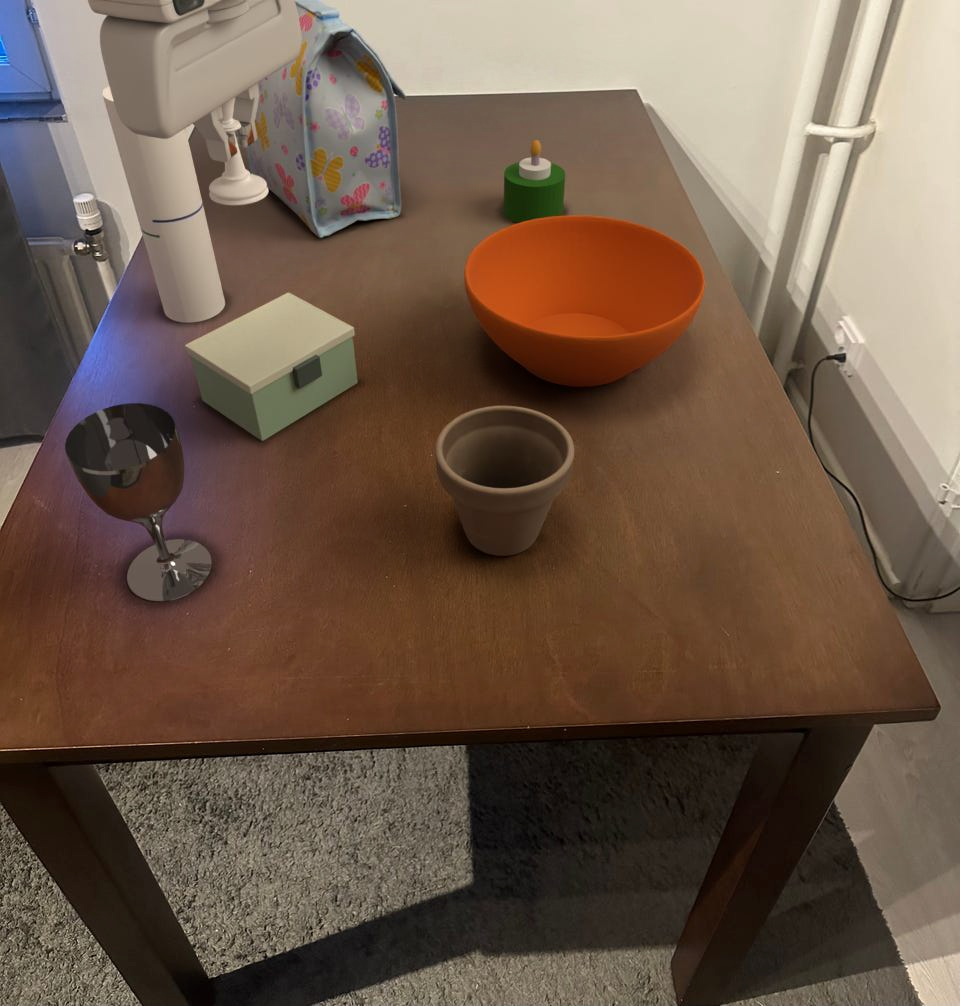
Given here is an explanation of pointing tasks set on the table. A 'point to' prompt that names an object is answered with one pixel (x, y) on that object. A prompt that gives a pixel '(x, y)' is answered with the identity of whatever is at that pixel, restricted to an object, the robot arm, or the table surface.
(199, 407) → the table surface
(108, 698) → the table surface
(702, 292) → the bowl
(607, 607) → the table surface
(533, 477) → the flower pot
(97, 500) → the wine glass
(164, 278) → the cylindrical container
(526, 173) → the candle
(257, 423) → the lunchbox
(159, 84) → the robot arm
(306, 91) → the lunch bag
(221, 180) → the chess piece
